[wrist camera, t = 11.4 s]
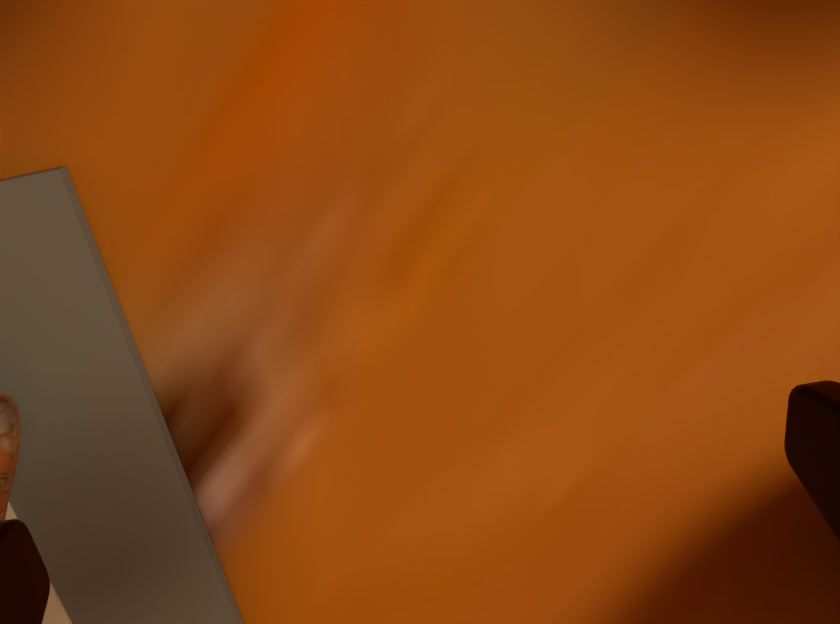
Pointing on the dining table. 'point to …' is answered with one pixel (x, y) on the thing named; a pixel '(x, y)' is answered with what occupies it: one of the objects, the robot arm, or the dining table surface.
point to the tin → (8, 447)
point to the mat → (93, 431)
